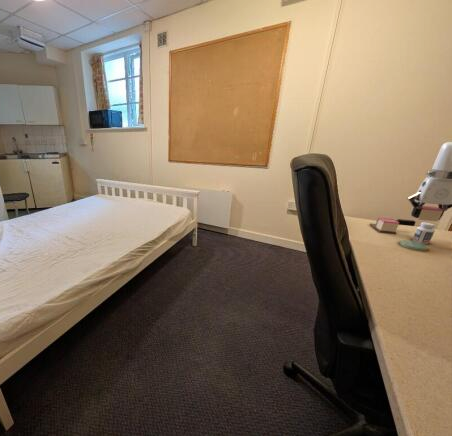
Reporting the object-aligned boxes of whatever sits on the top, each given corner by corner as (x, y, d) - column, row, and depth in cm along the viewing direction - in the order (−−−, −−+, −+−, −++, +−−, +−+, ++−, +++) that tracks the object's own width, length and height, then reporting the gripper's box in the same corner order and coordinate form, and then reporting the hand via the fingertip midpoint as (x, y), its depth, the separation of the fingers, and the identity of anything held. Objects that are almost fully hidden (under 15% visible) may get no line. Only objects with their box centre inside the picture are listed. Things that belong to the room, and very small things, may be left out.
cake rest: (390, 228, 113) (394, 219, 112) (395, 232, 109) (399, 222, 108) (375, 227, 115) (379, 218, 114) (380, 230, 111) (383, 221, 110)
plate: (418, 243, 99) (419, 241, 99) (431, 252, 92) (432, 249, 92) (395, 241, 102) (396, 238, 102) (406, 249, 95) (407, 246, 95)
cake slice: (430, 217, 94) (435, 206, 92) (438, 221, 90) (443, 209, 88) (411, 216, 96) (416, 205, 94) (418, 219, 92) (423, 208, 90)
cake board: (384, 226, 119) (384, 224, 118) (395, 234, 109) (396, 232, 109) (369, 224, 121) (370, 223, 121) (379, 232, 112) (380, 230, 111)
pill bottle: (430, 242, 101) (438, 224, 98) (427, 245, 98) (436, 226, 95) (413, 238, 105) (420, 220, 102) (410, 240, 102) (418, 223, 99)
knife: (409, 229, 112) (413, 220, 110) (411, 230, 110) (415, 221, 109) (374, 225, 117) (377, 217, 115) (376, 227, 115) (379, 218, 113)
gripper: (421, 175, 86) (403, 218, 92) (484, 178, 80) (460, 223, 87) (409, 172, 92) (393, 212, 99) (466, 174, 87) (445, 217, 93)
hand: (425, 217), depth 93 cm, fingers closed on cake slice, 6 cm apart
